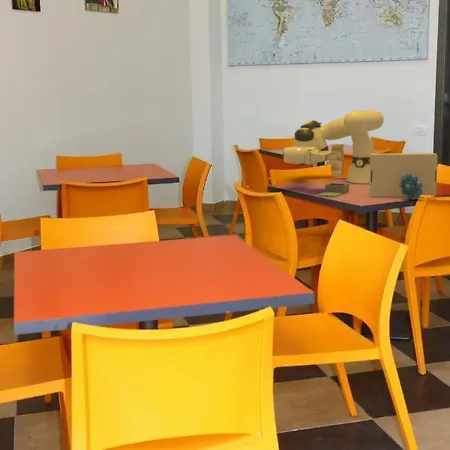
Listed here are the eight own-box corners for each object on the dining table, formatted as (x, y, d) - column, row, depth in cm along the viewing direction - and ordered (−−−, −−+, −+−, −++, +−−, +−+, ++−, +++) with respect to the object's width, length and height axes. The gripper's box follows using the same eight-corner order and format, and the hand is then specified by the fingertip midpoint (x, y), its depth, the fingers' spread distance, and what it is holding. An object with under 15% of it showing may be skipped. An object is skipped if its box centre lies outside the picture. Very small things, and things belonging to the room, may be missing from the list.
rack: (330, 190, 341) (331, 182, 340) (349, 191, 336) (349, 183, 336) (325, 193, 334) (325, 185, 333) (343, 194, 329) (343, 186, 328)
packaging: (433, 194, 322) (435, 153, 318) (435, 196, 316) (437, 154, 312) (368, 195, 325) (369, 153, 321) (370, 197, 319) (371, 154, 315)
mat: (324, 193, 332) (324, 192, 332) (341, 194, 328) (341, 193, 328) (317, 196, 324) (317, 194, 324) (335, 197, 320) (335, 195, 320)
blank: (333, 174, 336) (334, 143, 333) (343, 174, 334) (343, 144, 331) (331, 175, 333) (331, 144, 330) (340, 175, 330) (341, 144, 327)
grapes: (394, 199, 311) (395, 173, 308) (401, 197, 316) (402, 172, 313) (417, 201, 303) (418, 175, 301) (424, 200, 308) (425, 173, 305)
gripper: (320, 160, 347) (346, 160, 340) (305, 164, 329) (332, 165, 323) (320, 147, 346) (346, 148, 339) (305, 151, 328) (332, 151, 322)
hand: (339, 156), depth 331 cm, fingers closed on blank, 4 cm apart
